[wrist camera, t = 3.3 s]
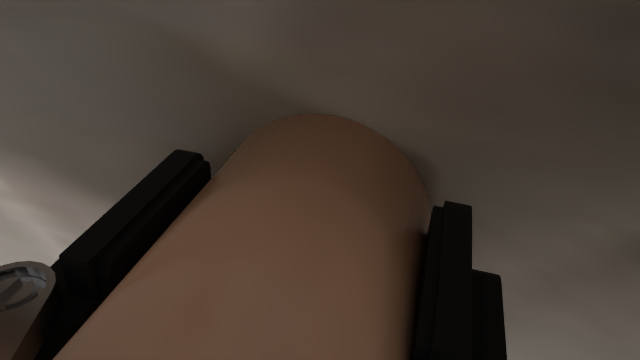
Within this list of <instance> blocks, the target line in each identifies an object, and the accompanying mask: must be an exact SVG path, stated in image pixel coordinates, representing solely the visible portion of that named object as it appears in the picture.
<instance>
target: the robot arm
mask: <svg viewBox="0 0 640 360" xmlns="http://www.w3.org/2000/svg"><path fill="white" fill-rule="evenodd" d="M210 179H211V168H210V164H209V162H208V161H204V158H203V155H201V154H200V153H195V152H190V151H184V150H175V151H174V152H172V153H171V154H170V155H169V156H168V157H167V158H166V159H165V160H164V161H162V162H161V163H160V164H159V165H158V166H157V167H156V168H155V169H154V170H153V171H151V172H150V173H149V174H148V175H147V176H146V177H145V178H144V179H143V180H142V181H140V182H139V183H138V184H137V185H136V186H135V187H134V188H133V189H132V190H131V191H129V192H128V193H127V194H126V195H125V196H124V197H123V198H122V199H121V200H120V201H118V202H117V203H116V204H115V205H114V206H113V207H112V208H111V209H110V210H108V211H107V212H106V213H105V214H104V215H103V216H102V217H101V218H100V219H99V220H97V221H96V222H95V223H94V224H93V225H92V226H91V227H90V228H89V229H88V230H86V231H85V232H84V233H83V234H82V235H81V236H80V237H79V238H78V239H77V240H75V241H74V242H73V243H72V244H71V245H70V246H69V247H68V248H67V249H66V250H64V251H63V252H62V253H61V254H60V255H59V259H58V260H57V261H56V262H55V263H54V264H53V265H52V266H51V267H49V266H47V265H45V264H43V263H40V262H33V261H23V262H14V263H10V264H6V265H3V266H0V360H53V358H54V357H55V356H56V355H57V354H58V353H59V352H60V350H61V349H62V348H63V347H64V346H65V345H66V344H67V342H68V341H69V340H70V339H71V338H72V337H73V336H74V335H75V333H76V332H77V331H78V330H79V329H80V328H81V327H82V325H83V324H84V323H85V322H86V321H87V320H88V319H89V317H90V316H91V315H92V314H93V313H94V312H95V311H96V309H97V308H98V307H99V306H100V305H101V304H102V303H103V301H104V300H105V299H106V298H107V297H108V296H109V295H110V293H111V292H112V291H113V290H114V289H115V288H116V287H117V285H118V284H119V283H120V282H121V281H122V280H123V279H124V278H125V276H126V275H127V274H128V273H129V272H130V271H131V270H132V268H133V267H134V266H135V265H136V264H137V263H138V262H139V260H140V259H141V258H142V257H143V256H144V255H145V254H146V252H147V251H148V250H149V249H150V248H151V247H152V246H153V244H154V243H155V242H156V241H157V240H158V239H159V238H160V236H161V235H162V234H163V233H164V232H165V231H166V230H167V228H168V227H169V226H170V225H171V224H172V223H173V222H174V220H175V219H176V218H177V217H178V216H179V215H180V214H181V213H182V211H183V210H184V209H185V208H186V207H187V206H188V205H189V203H190V202H191V201H192V200H193V199H194V198H195V197H196V195H197V194H198V193H199V192H200V191H201V190H202V189H203V187H204V186H205V185H206V184H207V183H208V182H209V181H210ZM411 360H507V354H506V340H505V326H504V312H503V298H502V284H501V277H500V276H499V275H497V274H492V273H488V272H483V271H478V270H474V269H472V206H470V205H465V204H459V203H454V202H449V201H445V203H444V206H443V207H439V206H434V207H433V211H432V215H431V219H430V224H429V228H428V233H427V238H426V246H425V254H424V262H423V270H422V277H421V285H420V293H419V301H418V308H417V316H416V324H415V332H414V340H413V347H412V355H411Z"/></svg>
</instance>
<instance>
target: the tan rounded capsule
mask: <svg viewBox="0 0 640 360" xmlns="http://www.w3.org/2000/svg"><path fill="white" fill-rule="evenodd" d="M429 224H430V207H429V201H428V196H427V193H426V190H425V187H424V185H423V182H422V181H421V179H420V177H419V175H418V173H417V171H416V170H415V168H414V167H413V165H412V164H411V162H410V161H409V160H408V159H407V158H406V156H405V155H404V154H403V153H402V152H401V151H400V150H399V149H398V148H397V147H396V146H395V145H393V144H392V143H391V142H390V141H389V140H387V139H386V138H384V137H383V136H381V135H380V134H378V133H377V132H375V131H374V130H372V129H370V128H368V127H366V126H364V125H362V124H359V123H356V122H354V121H351V120H348V119H345V118H341V117H336V116H332V115H323V114H300V115H293V116H288V117H284V118H281V119H278V120H275V121H273V122H270V123H268V124H266V125H264V126H262V127H261V128H259V129H258V130H256V131H255V132H253V133H252V134H251V135H250V136H249V137H248V138H247V139H246V140H245V141H244V142H243V143H242V144H241V145H240V146H239V148H238V149H237V150H236V151H235V152H234V153H233V154H232V155H231V157H230V158H229V159H228V160H227V161H226V162H225V163H224V165H223V166H222V167H221V168H220V169H219V170H218V171H217V173H216V174H215V175H214V176H213V177H212V178H211V179H210V181H209V182H208V183H207V184H206V185H205V186H204V187H203V189H202V190H201V191H200V192H199V193H198V194H197V195H196V197H195V198H194V199H193V200H192V201H191V202H190V203H189V205H188V206H187V207H186V208H185V209H184V210H183V211H182V213H181V214H180V215H179V216H178V217H177V218H176V219H175V220H174V222H173V223H172V224H171V225H170V226H169V227H168V228H167V230H166V231H165V232H164V233H163V234H162V235H161V236H160V238H159V239H158V240H157V241H156V242H155V243H154V244H153V246H152V247H151V248H150V249H149V250H148V251H147V252H146V254H145V255H144V256H143V257H142V258H141V259H140V260H139V262H138V263H137V264H136V265H135V266H134V267H133V268H132V270H131V271H130V272H129V273H128V274H127V275H126V276H125V278H124V279H123V280H122V281H121V282H120V283H119V284H118V285H117V287H116V288H115V289H114V290H113V291H112V292H111V293H110V295H109V296H108V297H107V298H106V299H105V300H104V301H103V303H102V304H101V305H100V306H99V307H98V308H97V309H96V311H95V312H94V313H93V314H92V315H91V316H90V317H89V319H88V320H87V321H86V322H85V323H84V324H83V325H82V327H81V328H80V329H79V330H78V331H77V332H76V333H75V335H74V336H73V337H72V338H71V339H70V340H69V341H68V342H67V344H66V345H65V346H64V347H63V348H62V349H61V350H60V352H59V353H58V354H57V355H56V356H55V357H54V358H53V360H411V355H412V347H413V340H414V332H415V324H416V316H417V308H418V301H419V293H420V285H421V277H422V270H423V262H424V254H425V246H426V238H427V233H428V228H429Z"/></svg>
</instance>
